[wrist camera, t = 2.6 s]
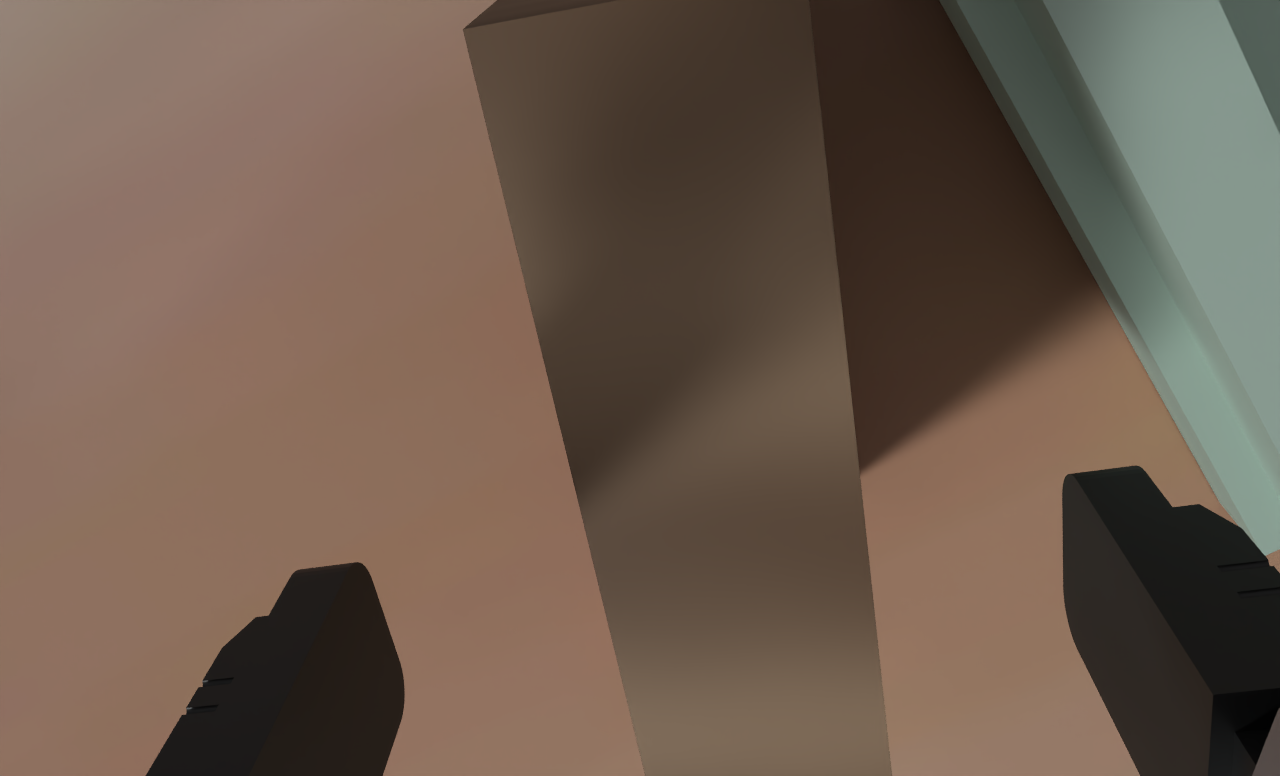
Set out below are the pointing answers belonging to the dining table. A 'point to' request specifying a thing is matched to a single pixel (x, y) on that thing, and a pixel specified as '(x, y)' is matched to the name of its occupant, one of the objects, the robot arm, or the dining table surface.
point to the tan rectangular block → (697, 365)
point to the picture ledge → (1165, 198)
